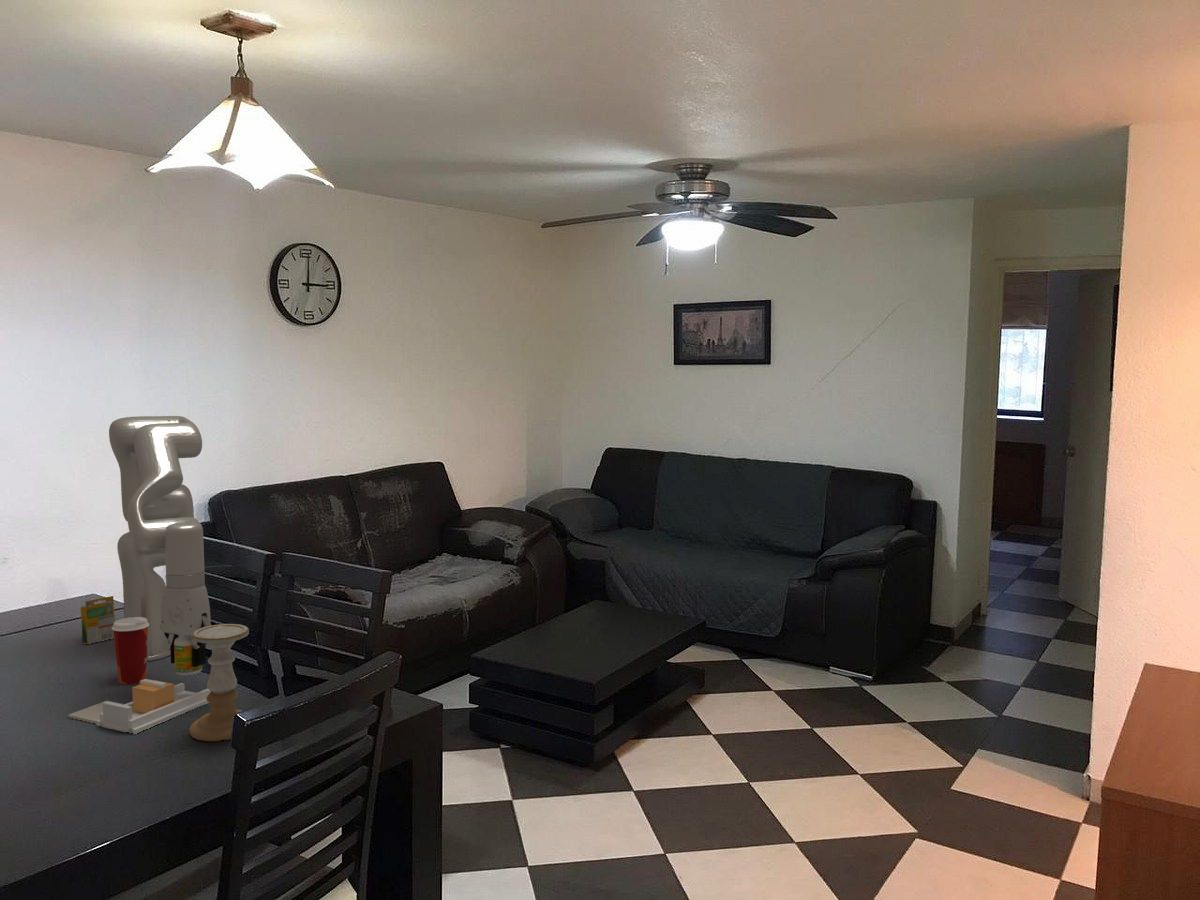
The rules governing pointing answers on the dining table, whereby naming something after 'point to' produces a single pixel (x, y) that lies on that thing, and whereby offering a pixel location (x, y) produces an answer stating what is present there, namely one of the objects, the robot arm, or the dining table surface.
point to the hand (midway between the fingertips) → (188, 662)
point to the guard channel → (136, 721)
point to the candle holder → (219, 681)
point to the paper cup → (131, 649)
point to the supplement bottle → (184, 656)
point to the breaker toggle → (152, 695)
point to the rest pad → (89, 713)
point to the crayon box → (97, 620)
